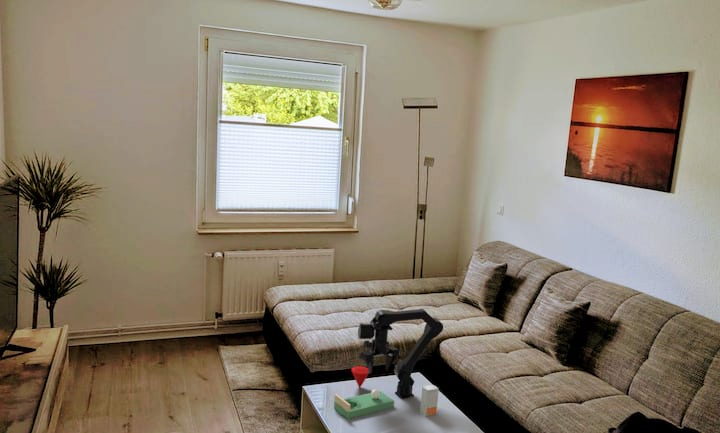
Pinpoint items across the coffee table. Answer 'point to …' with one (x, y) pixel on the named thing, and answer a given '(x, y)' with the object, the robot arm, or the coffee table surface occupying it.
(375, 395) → the ball
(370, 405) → the putting mat
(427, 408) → the skincare box
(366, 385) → the coffee table surface
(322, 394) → the coffee table surface
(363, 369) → the gemstone
